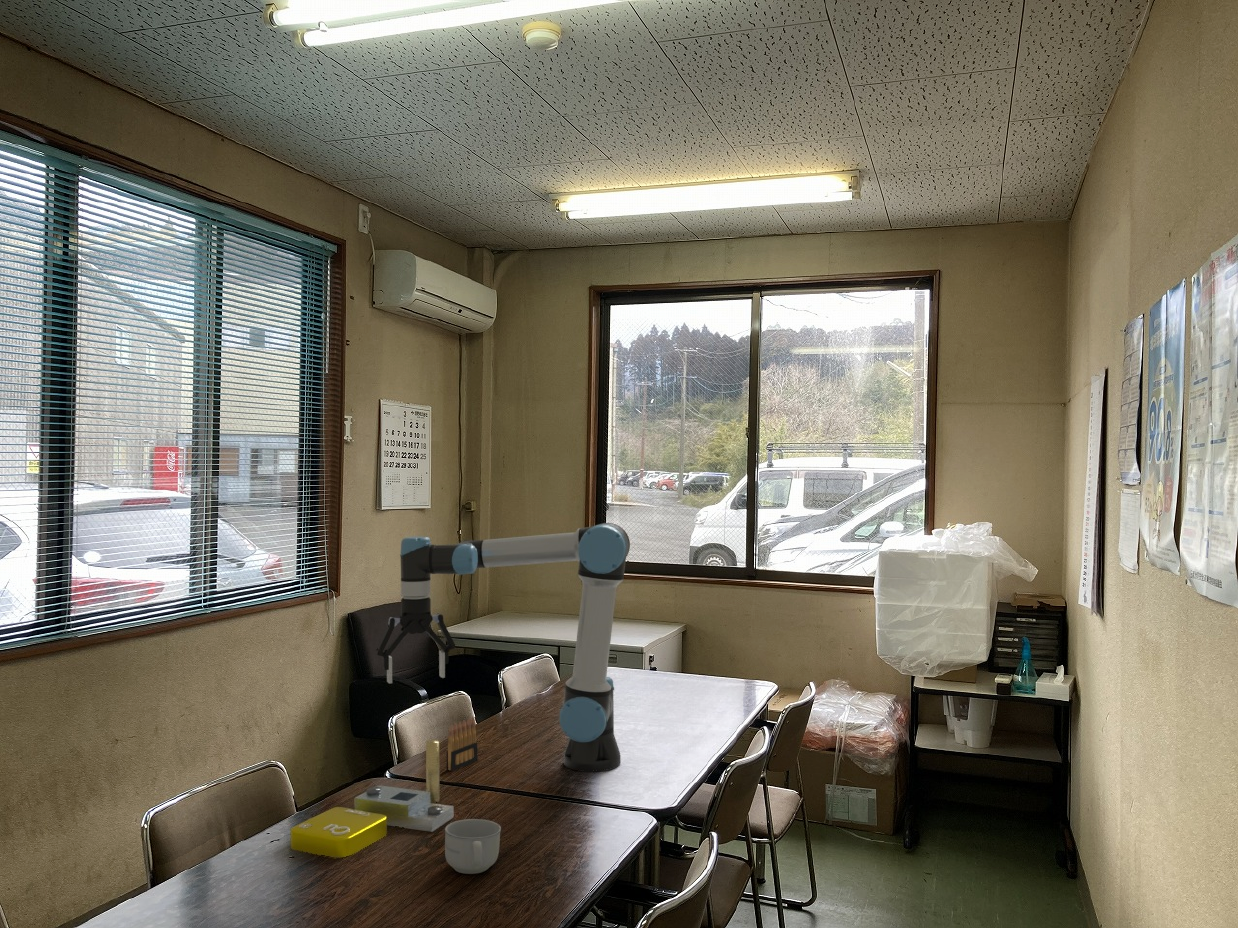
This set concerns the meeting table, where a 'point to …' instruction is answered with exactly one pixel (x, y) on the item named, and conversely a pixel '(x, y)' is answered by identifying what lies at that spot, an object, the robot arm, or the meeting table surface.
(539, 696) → the meeting table surface
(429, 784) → the brass pin
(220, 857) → the meeting table surface
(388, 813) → the bolted socket block
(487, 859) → the teacup
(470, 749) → the ammunition clip
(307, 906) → the meeting table surface
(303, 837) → the element tile
